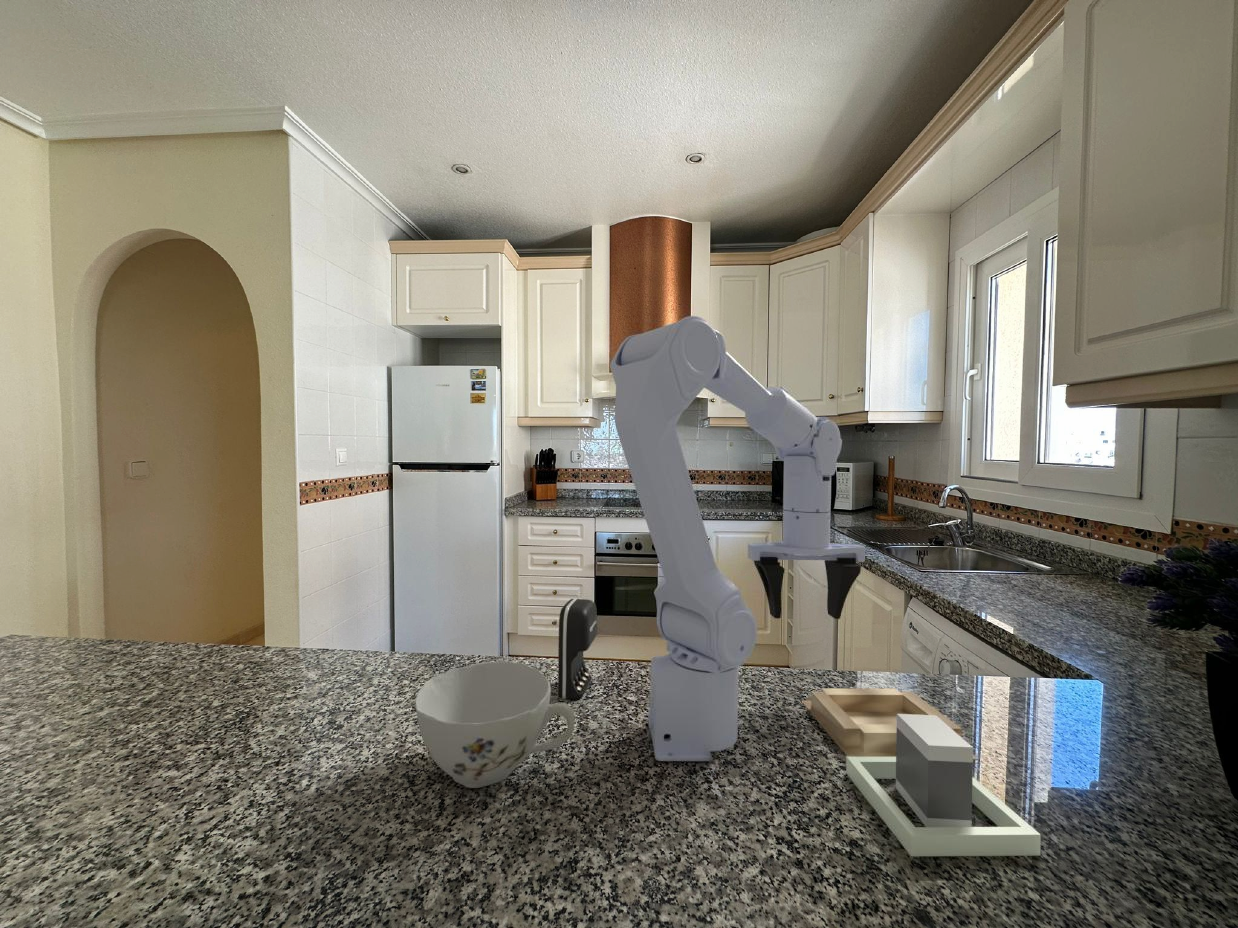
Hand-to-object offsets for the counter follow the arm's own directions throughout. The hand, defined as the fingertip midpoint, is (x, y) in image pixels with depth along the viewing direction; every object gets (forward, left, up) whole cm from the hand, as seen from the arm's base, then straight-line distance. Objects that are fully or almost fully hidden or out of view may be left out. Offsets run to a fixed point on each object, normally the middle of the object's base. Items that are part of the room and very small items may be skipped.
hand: (804, 616), depth 63 cm
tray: (+2, -22, -10) cm, 24 cm away
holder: (+5, -9, -10) cm, 15 cm away
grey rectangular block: (+2, -22, -10) cm, 24 cm away
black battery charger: (-29, +2, -11) cm, 31 cm away
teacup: (-36, -15, -11) cm, 40 cm away
